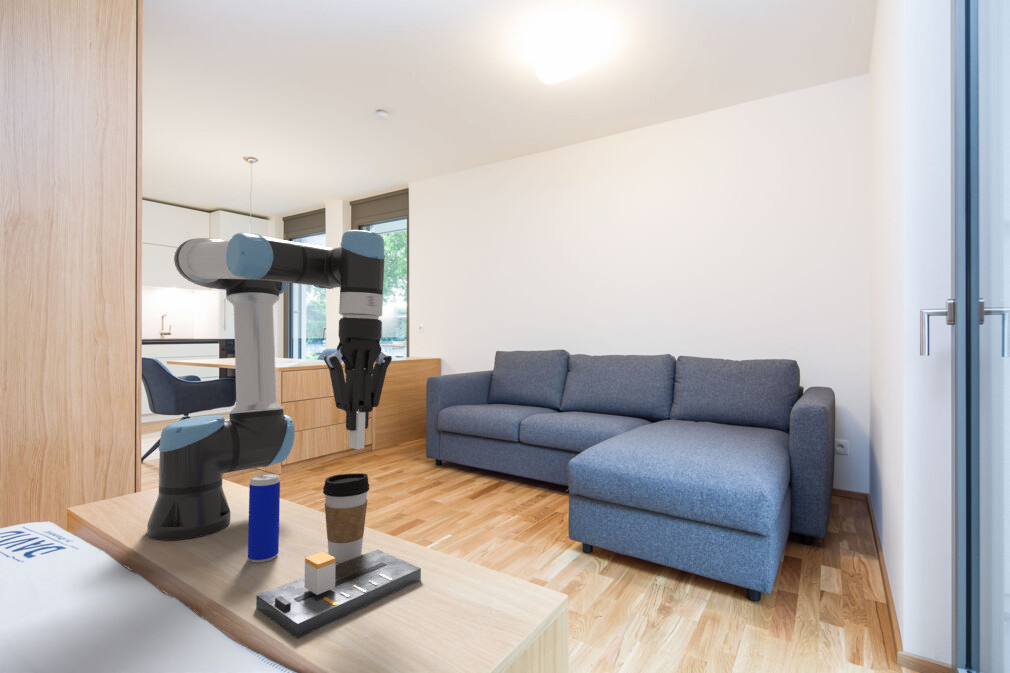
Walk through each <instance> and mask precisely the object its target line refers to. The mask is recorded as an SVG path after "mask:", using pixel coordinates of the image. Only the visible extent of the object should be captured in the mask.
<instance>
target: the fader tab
mask: <svg viewBox="0 0 1010 673" xmlns="http://www.w3.org/2000/svg"><path fill="white" fill-rule="evenodd" d="M336 565H337V562H336V558H335V557H333V556H331V555H329V554H328V552H327V553H326V552H324V551H321V552H318V553H315V554H312V555H309V556H306V557H304V577H305V584H304V587H305V588H306V589H308V590H310V591H311V592H313V593H315V594H316V595H318V594H321V593H323V592H325V591H328V590H330V589H333V588H335V567H336Z"/></svg>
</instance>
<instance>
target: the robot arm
mask: <svg viewBox="0 0 1010 673" xmlns="http://www.w3.org/2000/svg"><path fill="white" fill-rule="evenodd" d="M385 259H386V254H385V239H384V237H383V236H382V235H381V234H379V233H376V232H373V231H368V230H359V229H351V230H346V231H344V232H343V234H342V237H341V242H340V246H339V247H326V246H321V245H315V244H314V245H313V244H308V243H304V242H303V243H302V242H297V241H290V240H285V239H284V240H283V239H279V238H274V237H269V236H264V235H262V234H257V233H243V232H238V233H235V234H234V235H233V236H232V237H231V238H230V239H228V240H224V239H221V238H212V237H211V238H208V237H198V238H197V237H196V238H191V239H187V240H185V241H183V242H182V243H180V244H179V246H178V247H177V248H176V250H175V252H174V258H173V261H174V262H173V263H174V266H175V268H176V271H177V272H178V273H179V274H180V276H182V277H183V278H184V279H186V280H187V281H188V282H190V283H193V284H194V285H197V286H200V287H203V288H204V287H205V288H207V289H215V290H224V291H225V292H226V293H225V296H226V298H225V299H226V300H227V301H228V302H229V303H230V304H231V305H232V306H233V321H234V322H233V325H234V326H233V328H234V360H235V361H234V364H235V367H234V368H235V397H236V398H235V399H236V400H235V401H236V402H235V403H236V404H235V406H234V407H233V408H232V409H231V410H230V411H229V413H228V414H229V416H228V417H229V420H226V419H225V418H224V417H223V415H219V414H211V415H205V416H204V415H201V416H194V417H189V418H188V417H187V418H185V419H184V418H183V419H179V420H177V421H176V420H175V421H174V422H171V423H169V424H167V425H166V426H164V428H162V430H161V433H160V439H159V440H160V441H159V446H158V451H159V464H158V465H159V466H158V467H159V468H158V495H157V498H156V500H155V504H154V505H153V509H152V511H151V513H150V516H149V518H148V521H147V526H146V527H147V529H146V534H147V537H149V538H151V539H153V540H159V541H178V540H180V541H181V540H186V539H192V538H198V537H202V536H205V535H209V534H212V533H215V532H218V531H220V530H222V529H225V528H226V527H227V526H228V525H230V523H231V509H230V506H229V503H228V500H227V497H226V494H225V492H224V489H223V475H224V474H227V473H234V472H240V471H245V470H250V469H257V468H258V469H259V468H268V467H270V466H272V465H278V464H281V463H283V462H284V461H285V460H286V459H287V458H288V457H289V455H290V453H291V452H292V450H293V446H294V442H295V436H296V435H295V432H296V431H295V425H294V422H293V419H292V418H291V417H290V415H288V414H284V407H283V405H281V404H279V402H277V385H276V383H277V380H276V358H275V354H276V353H275V329H274V328H275V326H274V305H275V304H276V303H277V302H278V301H279V300H280V295H282V294H283V293H285V291H286V289H287V287H288V283H291V284H299V285H306V286H313V287H315V288H318V289H329V290H331V289H332V290H333V289H336V288H340V289H339V306H338V314H339V315H340V316H341V317H340V319H339V320H338V335H337V336H338V339H339V343H338V345H337V347H336V351H335V352H333V353H331V354H330V355H325V356H324V357H323V361H324V363H325V365H326V366H327V368H328V370H329V376H330V377H329V378H330V381H331V386H332V393H333V397H334V403H335V407H336V408H337V409H339V410H342V411H344V412H345V429H346V431H348V448H351V449H355V450H362V449H365V443H366V442H365V438H366V435H365V434H366V430H367V429H368V427H369V418H370V417H369V416H370V415H369V413H372V412H373V410H374V408H377V407H378V406H379V405H380V402H381V401H380V400H381V396H382V392H383V388H384V387H383V386H384V383H385V378H386V375H387V370H388V368H389V367H390V366H389V365H390V364H391V362H392V360H393V358H392V356H390V355H386V354H385V353H384V352H383V351H382V346H381V343H380V341H381V339H382V335H383V334H382V333H383V321H382V319H379V318H380V317H382V316H383V302H384V301H383V300H384V299H383V298H384V297H383V296H384V295H383V294H384V293H383V291H384V277H385V276H384V274H385ZM342 364H344V368H343V366H342ZM344 373H345V374H344Z"/></svg>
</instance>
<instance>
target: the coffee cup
mask: <svg viewBox="0 0 1010 673" xmlns="http://www.w3.org/2000/svg"><path fill="white" fill-rule="evenodd" d="M368 476H369V475H368V474H367V473H363V472H362V473H361V472H360V473H357V472H356V473H342V474H341V473H340V474H335V475H331V476H328V477H325V480H324V485H323V487H322V493H323V495H325V496H324V498H325V503H324V512H325V524H326V525H325V526H326V536H327V537H326V538H327V549H328V551H327V554H329V555H331V556H333V557H335V558H336V563H338V564H340V563H342V562H345V561H348V560H350V559H353V558H356V557H358V556H361V555H363V553H362V552H363V542H364V533H365V524H366V515H367V508H368V507H367V506H368V499H367V496H368V492H369V491H370V483H369V477H368Z"/></svg>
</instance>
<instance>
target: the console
mask: <svg viewBox="0 0 1010 673" xmlns="http://www.w3.org/2000/svg"><path fill="white" fill-rule="evenodd" d="M421 575H422V568H421V567H419V566H417V565H415V564H412V563H410V562H407V561H406V560H403V559H401V558H398V557H396V556H393V555H391V554H389V553H387V552H384V551H382V550H380V549H374V550H372V551H369V552H367V553H364V554H361V556H358V557H356V558H353V559H350V560H348V561H345V562H342V563H338V564H337V563H336V567H335V588H333V589H330V590H328V591H325V592H323V593H321V594H318V595H316V594H315V593H313V592H311V591H310V590H308V589H306V588H305V587H304V584H305V576H303V577H300V578H298V579H296V580H292V581H290V582H286V583H285V584H282V585H279V586H277V587H273V588H272V589H269V590H266V591H263V592H261V593H258V594H256V599H255V600H256V601H255V603H256V604H255V609H256V610H257V611H259V612H261V613H262V614H263V615H265V617H266V618H268V619H270V620H271V621H272V622H274V623H275V624H276V625H277V626H279V627H281V628H282V629H283V630H285V631H286V632H287V633H289V634H290V635H291V636H293V637H294V638H295V639H297V640H298V639H300V638H302V637H304V636H307V635H308V634H311V633H312V632H315V631H317V630H319V629H321V628H323V627H325V626H327V625H329V624H332V623H333V622H335V621H338V620H339V619H342V618H344V617H346V616H348V615H350V614H352V613H354V612H356V611H359V610H360V609H362V608H364V607H367V606H369V605H371V604H374V603H375V602H377V601H379V600H382V599H383V598H386V597H388V596H390V595H393V594H394V593H396V592H399V591H400V590H401V591H402V590H403V589H405V588H406V587H409V586H411V585H413V584H415V583H418V582H420V581H421V579H422V578H421V577H422V576H421Z"/></svg>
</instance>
